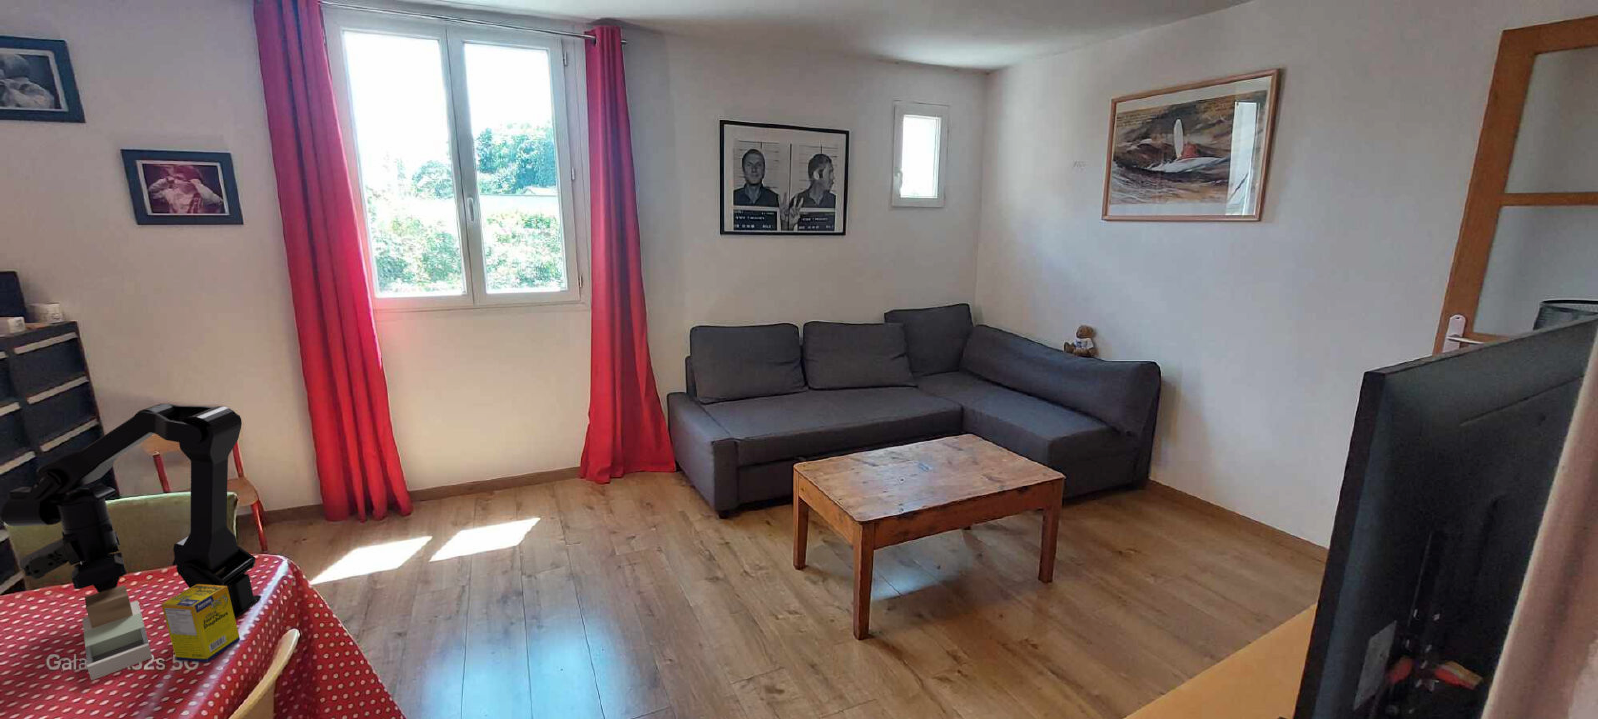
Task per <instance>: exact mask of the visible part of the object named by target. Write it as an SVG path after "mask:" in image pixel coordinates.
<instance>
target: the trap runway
mask: <svg viewBox="0 0 1598 719" xmlns="http://www.w3.org/2000/svg"><path fill="white" fill-rule="evenodd" d="M130 604H131V609H132V613H133V615H136V614H139V613H141V615H142V611H141V607H140V604H139V601H138V600H135V601H134V600H133V601H130ZM133 615H131V616H133ZM142 616H143V615H142ZM128 617H130V616H128ZM125 618H127V617H125ZM122 619H124V618H122ZM142 619H143V617H142ZM81 620H82V628H83V629H82V631H83V632H84V631H87V630H90V629H93V628H92V627H91V623H90V620H89V617H88V615H87V616H85V617H82V618H81ZM119 620H121V619H119ZM143 620H144V619H143ZM116 621H118V620H116ZM113 622H114V621H113ZM110 623H111V622H110ZM107 624H108V623H107ZM104 625H105V624H104ZM101 626H102V625H101ZM98 627H99V626H98ZM95 628H96V627H95ZM140 629H141V633H142V637H143V639H142V640H139V641H136V642H133V643H131V644H128V645H125V646H122V647H119V648H117V649H114V650H111V651H108V652H105V653H102V654H100V655H97V656H94V657H93V655H92V652H91V648H90V646H87V647H85V646H84V647H85V648H84V649H85V658H86V666H87V667H86V668H87V671H88V673H89V678H90V680H91V681H94V680H97V679H99V678H103V677H105V676H107V675H110V674H113V673H115V672H118V671H121V670H123V669H126V668H129V667H131V666H134V665H137V664H140V663H143V662H145V661H148V660H150V659H153V654H152V649H151V647H150V644H149V640H148V635H146V634H147V631H145V630H146V627H142V628H140Z"/></svg>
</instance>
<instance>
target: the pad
mask: <svg viewBox="0 0 1598 719" xmlns="http://www.w3.org/2000/svg"><path fill="white" fill-rule="evenodd" d="M141 614H142V612H141V613H139V614H136V615H133V616H130V617H127V618H124V619H121V620H118V621H114V622H111V623H108V624H105V625H102V626H99V627H96V628H93V629H90V630H87V631H83V639H84V640H83V641H84V647H87V646H90V648H91V652H92V655H93V657H94V656H97V655H100V654H102V653H105V652H108V651H111V650H114V649H117V648H119V647H122V646H125V645H128V644H131V643H133V642H136V641H139V640H142V639H143V637H142V633H141V629H140V628H142V627H145V622H144V619H142V618H143V615H141ZM145 628H146V627H145ZM146 630H147V629H145V631H146ZM146 632H147V631H146ZM146 635H147V633H146ZM147 636H148V635H147Z"/></svg>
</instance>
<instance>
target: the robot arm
mask: <svg viewBox="0 0 1598 719" xmlns="http://www.w3.org/2000/svg"><path fill="white" fill-rule="evenodd" d="M242 425H243V423H242V417H241V416H240V414H237V412H236V411H235V410H233V409H231V408H230V407H227V406H223V405H218V406H214V407H213V406H207V405H178V404H173V403H158V404H154V405H153V406H149V407H146V408H144V409H140V410H138V411H137V412H136V413H135V414H134V415H133V416H132V417H131V418H129V419H128V420H126V421H124V422H123V423H121V424H120V425H118V426H117V427H115V428H113V429H112V430H110V431H109V432H107V433H106V434H104V435H103V436H101V437H100V438H98V439H97V440H95V441H93V442H92V443H91V444H89V445H87V446H86V447H84V448H81V449H80V450H77V451H75V452H72V453H70V454H66V455H64V456H62V457H59V458H57V459H54V460H53V461H52V460H51V461H49V462H47V463H44V464H43V465H41V466H40V467H38V468H37V470H36V474H37V477H36V480H35V481H34V483H33V485H32V486H30V487H29V486H21V487H18V488H15V489H13V490H10V491H9V492H8V495H9V498H8V500H7V501H6V502H5V503H4V504H3V506H2V510H1V513H0V518H1V520H2V522H3V523H4V524H6V525H7V526H10V527H29V526H30V527H31V526H34V527H35V526H52V525H57V524H61V527H62V531H61V535H62V538H60V539H58V540H56V541H53V542H51V543H49V544H47V545H45V546H43V547H40V548H39V549H37V550H35V551H33V552H31V553H29V554H27V555H25V556H24V557H22V558H21V559H20V560H19V568H20V569H21V570H22V571H23V572H24V574H25V576H26V577H30V578H32V579H33V580H35V581H36V580H39V579H41V578H43V577H45V576H46V575H47V574H49V573H50V572H52V571H54V570H56V569H58V568H59V567H62V566H63V565H66V563H68V565H69V566H73V567H74V569H73V570H72V571H71V582H72V585H73V589H74V590H81V589H85V588H89V587H92V586H93V587H94V589H95V590H96V591H97V593H99V592H103V591H106V590H109V589H112V588H116V587H118V584H119V581H120V578H121V577H122V578H123V577H124V576H125V575H127V570H126V566H125V563H124V558H123V554H122V553H123V552H120V550H119V546H121V542H120V539H119V534H118V532H117V531H114V527H113V523H112V519H111V516H110V512H109V510H108V505H107V503H106V499H107V498H109V497H110V496H112V495H114V494H116V493H117V490H116V489H115V488H112V487H111V486H109V487H108V486H106V485H104V484H103V483H98V484H95V485H93V486H91V487H89V488H88V487H86V488H85V487H84V488H79V487H83V486H84V485H88V484H89V483H92V482H94V481H96V480H99V479H101V478H102V477H103V476H105V475H106V473H108V472H109V471H110V469H111V468H112V467H113V466H114V464H115V461H116V460H117V459H118V458H119V457H121V456H122V455H124V454H126V453H127V452H129V451H130V450H131V449H133V448H134V447H137V445H139V444H141V443H142V442H144V441H146V440H147V439H148V438H149V439H150V438H151V437H152V436H153V435H155V434H156V435H157V436H159V438H161V439H163V440H165V441H167V442H168V441H169V442H176V443H178V445H179V448H180V451H182V453H183V454H184V455H185V456H186V457H187V458H188V459H189V460H190V505H189V506H190V513H189V514H190V515H189V516H190V522H189V524H190V526H189V527H190V528H189V529H190V530H189V534H188V535H187V536H186V537H184V538H182V539H181V540H179V541H177V542H176V543H174V546H173V549H172V550H173V554H174V559H173V562H172V566H175V567H176V571H177V574H178V575H179V576H181V578H182V580H183V581H184V582H185V584H186V585H187V586H188V589H189V588H191V587H193V586H194V585H196V584H204V585H219V586H227V587H228V592H229V596H230V600H231V604H232V608H233V612H234V617H235V619H236V618H238V617H240V616H241V615H242V614H244V613H245V612H246V611H247V610H248V609H249V608H251V607H252V606H253V605H255V603H257V602H258V601H259V600H261V598H262V595H260V594H256V595H254V591H253V587H252V583H251V578H250V574H249V573H247V572H248V571H249V570H251V569H253V568H254V567H255V564H256V560H257V558H256V557H255V556H254V555H252V554H251V553H249V552H248V551H246V550H245V549H243V548H242V547H240V546H239V545H238V542H237V537H236V535H235V534H234V532H232V530H230V528H228V526H227V525H228V521H227V520H228V518H227V517H228V515H227V514H228V481H229V480H228V478H229V477H228V476H229V456H230V454H231V452H232V451H233V449H234V448H235V446H236V443H238V440H239V437H240V433H241V429H242ZM77 488H78V489H77ZM224 567H225V568H224ZM223 568H224V569H223ZM221 569H222V570H221ZM220 570H221V571H220ZM217 572H218V573H217ZM216 573H217V574H216Z"/></svg>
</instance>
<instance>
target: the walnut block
mask: <svg viewBox="0 0 1598 719" xmlns="http://www.w3.org/2000/svg"><path fill="white" fill-rule="evenodd" d="M127 590H128V589H127V587H126V585H125V584H122V585H119V586H117V587H116V588H112V589H109V590H106V591H103V592H96V593H93V594H90V595H87V596H84V602H85V609H86V613H87V616H88V617H89V620H90V623H91V627H92V628H95V627H98V626H101V625H104V624H107V623H110V622H113V621H116V620H119V619H122V618H125V617H128V616H131V615H133V613H132V609H131V604H130V603H131V601H130V598H129V594H128V591H127Z"/></svg>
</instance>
